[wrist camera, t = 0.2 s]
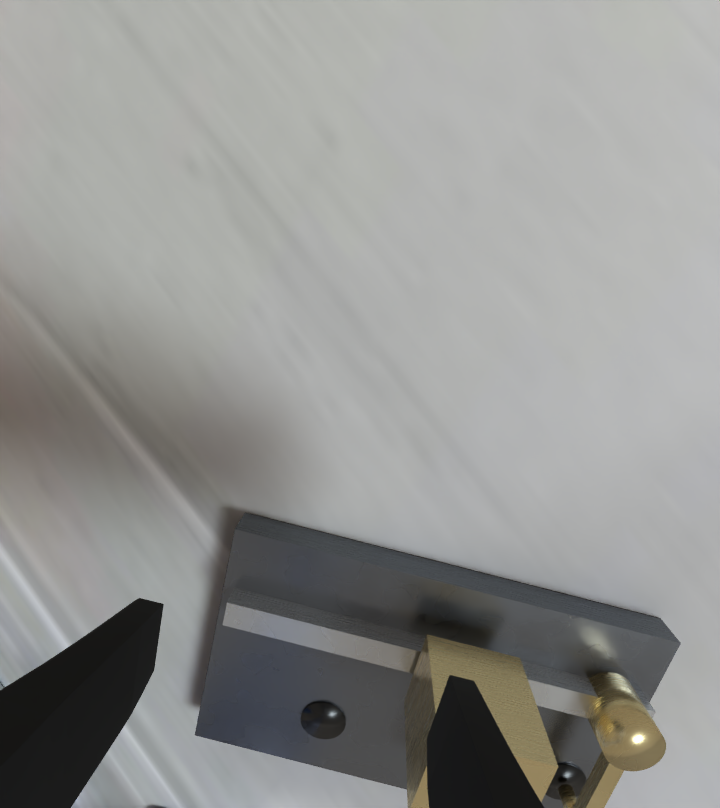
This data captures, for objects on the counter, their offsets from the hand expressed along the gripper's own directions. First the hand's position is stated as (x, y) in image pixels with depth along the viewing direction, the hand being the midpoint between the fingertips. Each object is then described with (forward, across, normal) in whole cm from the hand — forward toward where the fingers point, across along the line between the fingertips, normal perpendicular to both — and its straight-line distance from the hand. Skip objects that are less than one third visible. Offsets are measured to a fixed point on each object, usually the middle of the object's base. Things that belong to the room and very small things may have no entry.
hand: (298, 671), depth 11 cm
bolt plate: (+10, -6, +8) cm, 14 cm away
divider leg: (+8, -7, +8) cm, 13 cm away
